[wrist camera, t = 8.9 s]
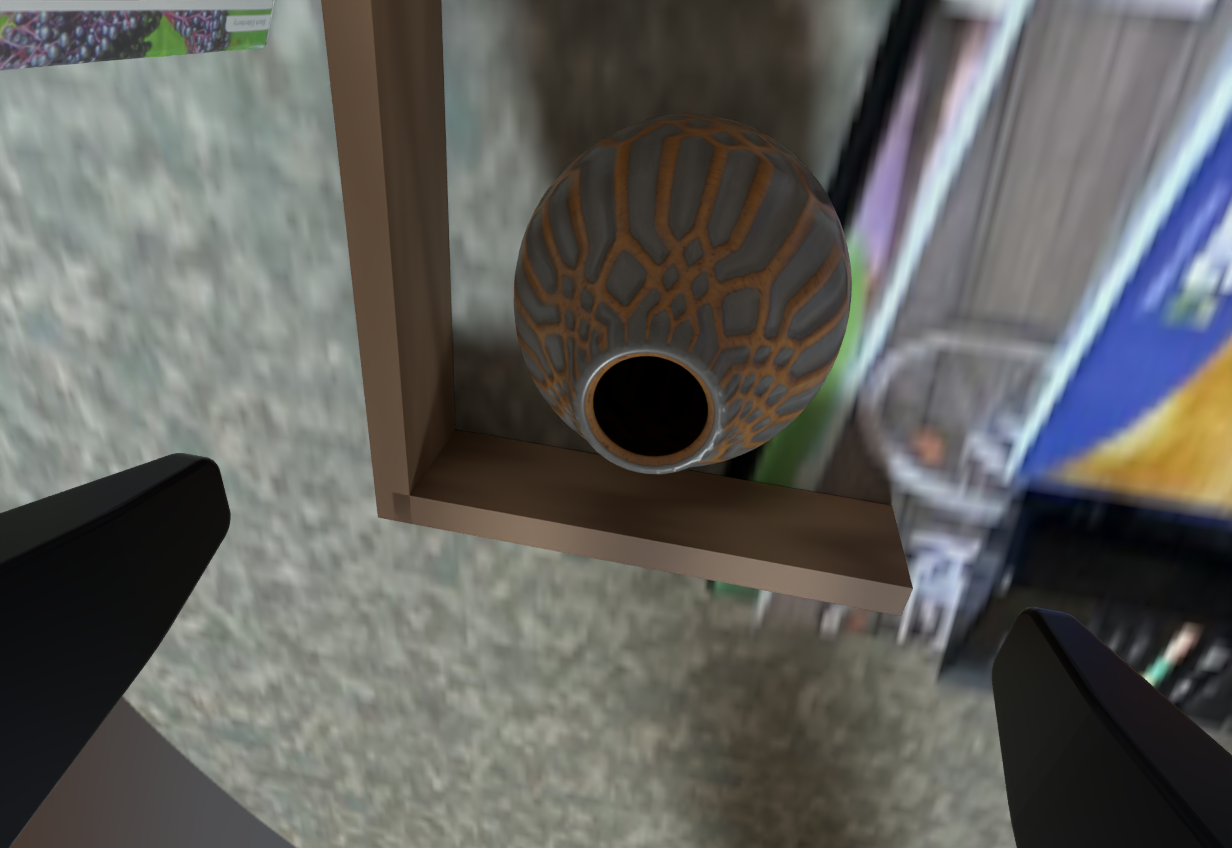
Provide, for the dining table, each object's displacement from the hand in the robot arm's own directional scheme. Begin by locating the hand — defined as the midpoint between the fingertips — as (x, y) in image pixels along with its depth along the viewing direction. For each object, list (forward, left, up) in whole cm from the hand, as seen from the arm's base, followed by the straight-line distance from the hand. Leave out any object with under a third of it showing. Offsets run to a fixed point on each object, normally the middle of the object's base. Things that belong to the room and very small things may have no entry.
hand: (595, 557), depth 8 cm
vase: (0, 0, -12) cm, 12 cm away
